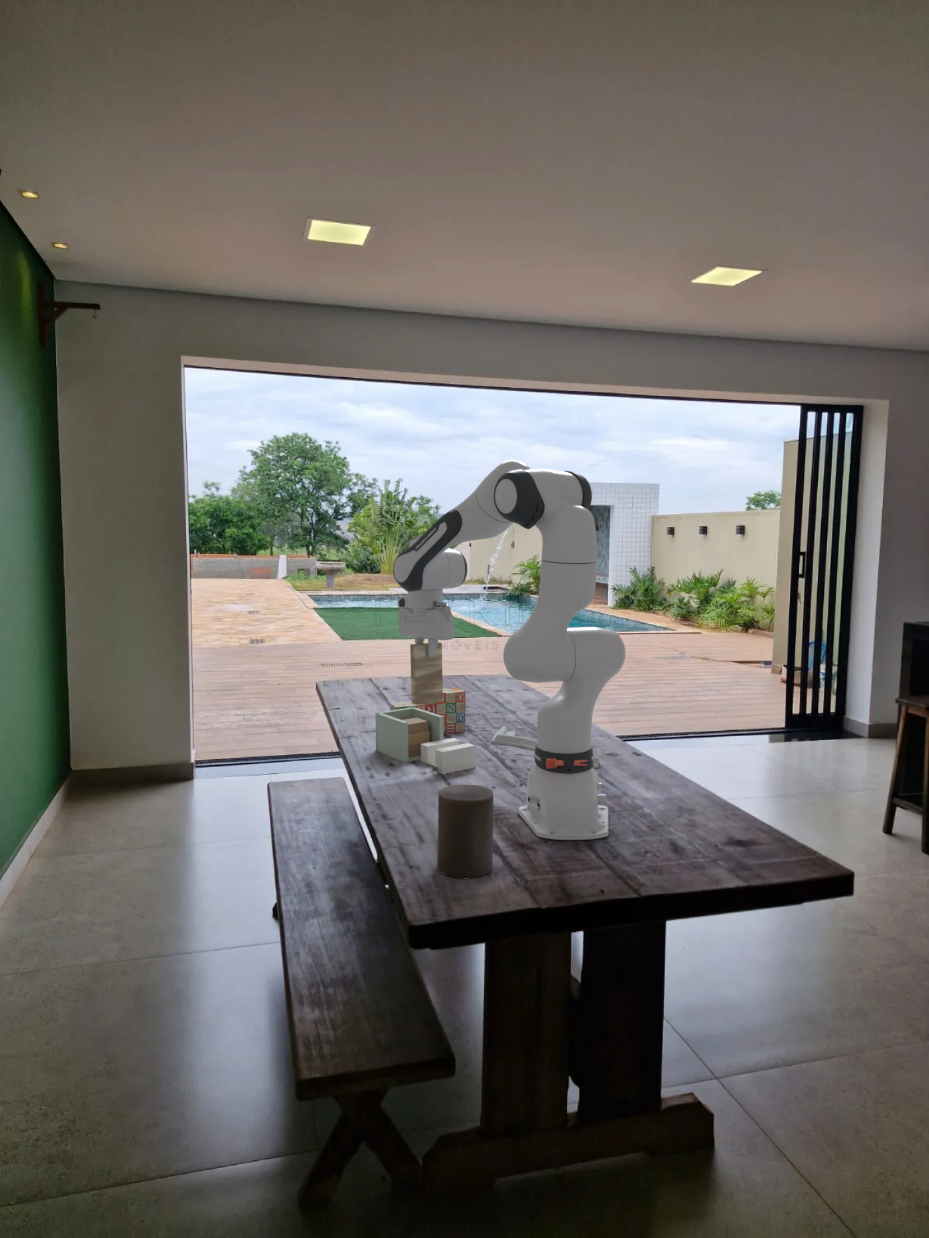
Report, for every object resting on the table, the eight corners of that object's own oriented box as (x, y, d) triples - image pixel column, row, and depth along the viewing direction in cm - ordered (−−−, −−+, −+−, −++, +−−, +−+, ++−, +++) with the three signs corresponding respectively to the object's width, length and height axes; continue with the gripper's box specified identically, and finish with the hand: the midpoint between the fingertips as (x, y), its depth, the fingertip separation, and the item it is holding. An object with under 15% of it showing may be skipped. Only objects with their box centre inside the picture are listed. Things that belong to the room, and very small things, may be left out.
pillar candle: (459, 884, 137) (459, 797, 136) (426, 864, 145) (427, 782, 144) (504, 870, 143) (505, 786, 141) (471, 852, 151) (472, 773, 149)
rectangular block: (442, 701, 210) (441, 642, 209) (416, 704, 205) (415, 645, 204) (437, 699, 212) (436, 642, 211) (411, 703, 207) (410, 644, 206)
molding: (609, 768, 206) (610, 756, 206) (573, 775, 200) (573, 763, 199) (508, 733, 241) (508, 723, 241) (474, 738, 234) (474, 728, 234)
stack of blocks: (395, 739, 233) (395, 696, 232) (389, 734, 239) (389, 692, 237) (465, 732, 241) (465, 690, 240) (458, 727, 247) (458, 687, 245)
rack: (443, 758, 212) (443, 716, 211) (404, 766, 205) (403, 722, 204) (414, 747, 224) (414, 707, 222) (376, 754, 216) (375, 712, 215)
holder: (475, 767, 205) (475, 745, 204) (443, 774, 199) (442, 752, 198) (452, 758, 213) (452, 737, 212) (420, 765, 207) (420, 743, 206)
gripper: (459, 601, 200) (460, 658, 201) (414, 599, 216) (415, 651, 217) (438, 603, 196) (439, 660, 197) (393, 600, 213) (394, 653, 214)
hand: (426, 655), depth 207 cm, fingers closed on rectangular block, 2 cm apart
